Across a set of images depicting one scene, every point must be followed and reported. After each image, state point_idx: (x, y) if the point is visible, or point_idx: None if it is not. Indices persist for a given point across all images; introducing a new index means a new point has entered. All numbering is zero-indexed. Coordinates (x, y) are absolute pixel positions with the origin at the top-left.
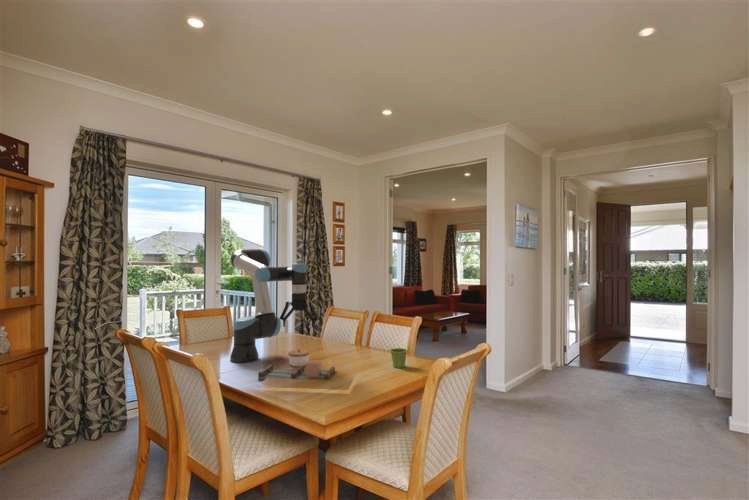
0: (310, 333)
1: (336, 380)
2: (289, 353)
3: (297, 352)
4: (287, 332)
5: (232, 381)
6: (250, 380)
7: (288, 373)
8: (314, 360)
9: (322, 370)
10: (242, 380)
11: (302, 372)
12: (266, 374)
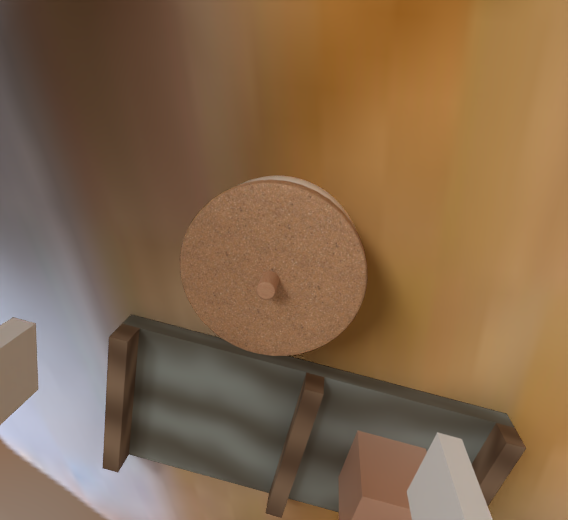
0: (411, 498)
1: (489, 504)
2: (196, 312)
3: (261, 298)
4: (32, 346)
5: (20, 429)
6: (88, 430)
7: (245, 425)
8: (396, 509)
9: (439, 409)
10: (54, 424)
11: (319, 422)
12: (138, 420)
